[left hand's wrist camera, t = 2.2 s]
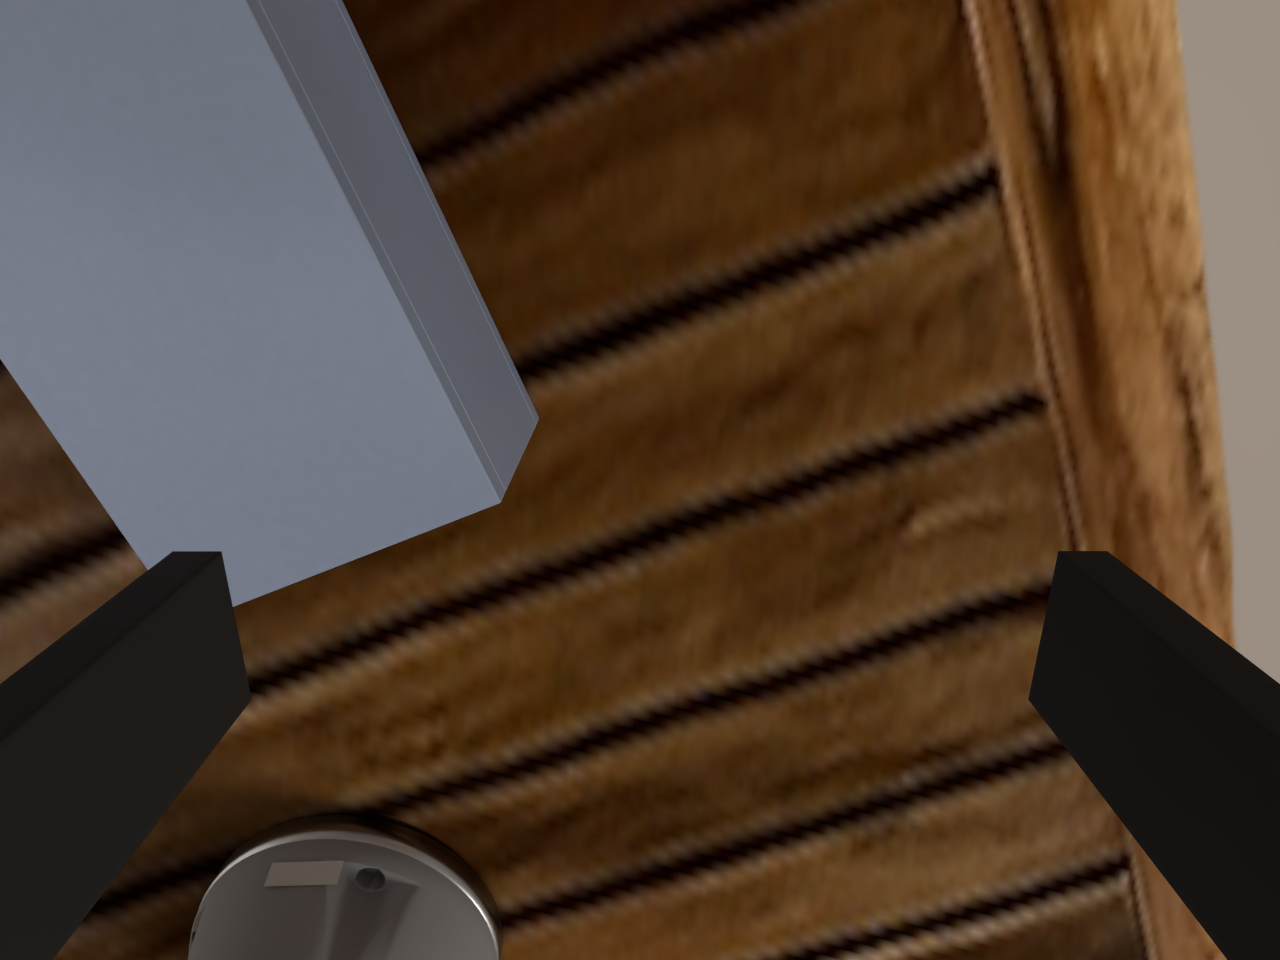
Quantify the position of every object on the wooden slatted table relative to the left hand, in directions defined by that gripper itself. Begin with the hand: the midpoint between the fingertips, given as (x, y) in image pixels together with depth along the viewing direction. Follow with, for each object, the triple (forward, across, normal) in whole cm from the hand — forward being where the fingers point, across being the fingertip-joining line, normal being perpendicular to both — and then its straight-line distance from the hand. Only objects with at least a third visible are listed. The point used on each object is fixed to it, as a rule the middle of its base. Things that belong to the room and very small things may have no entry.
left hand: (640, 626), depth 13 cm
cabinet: (+20, +13, -6) cm, 24 cm away
